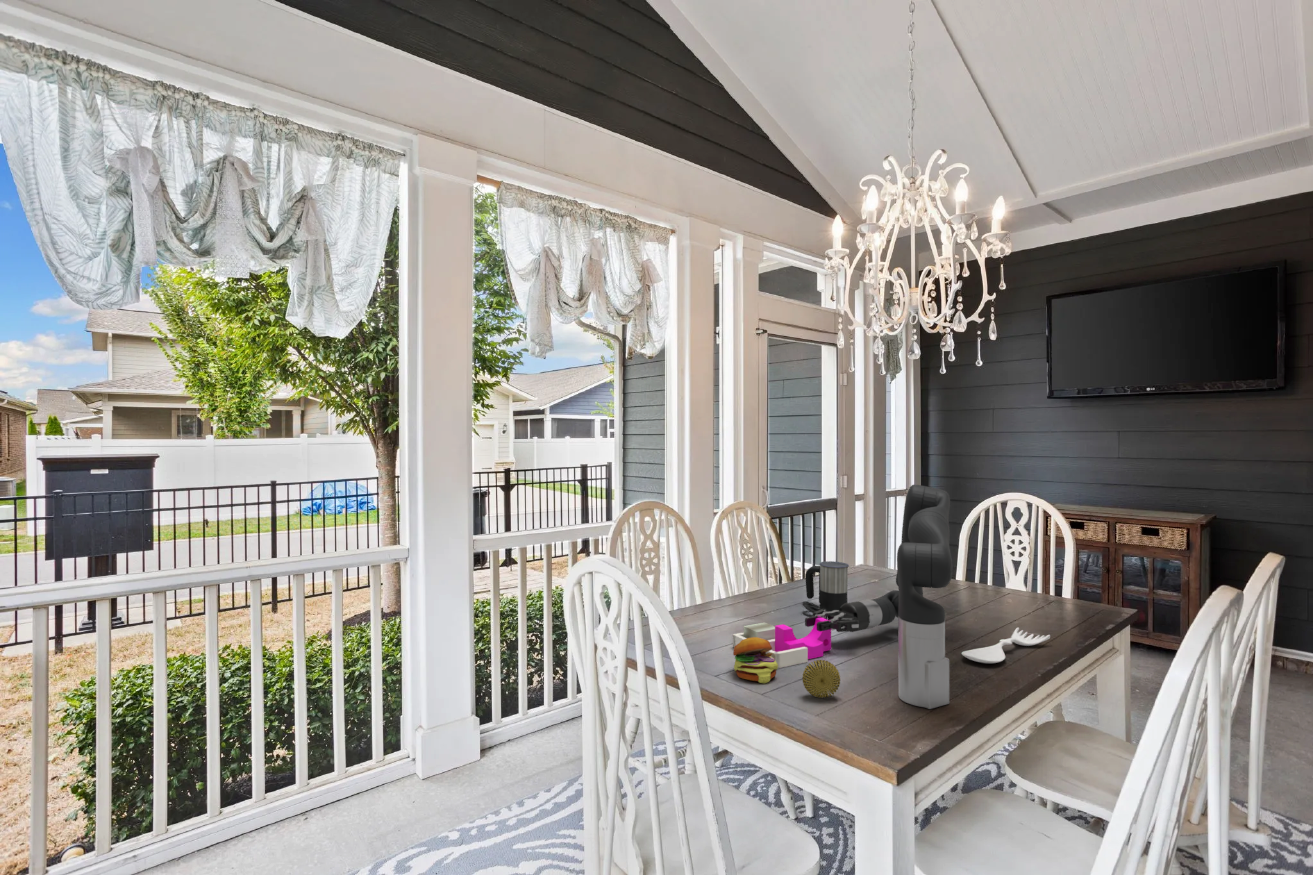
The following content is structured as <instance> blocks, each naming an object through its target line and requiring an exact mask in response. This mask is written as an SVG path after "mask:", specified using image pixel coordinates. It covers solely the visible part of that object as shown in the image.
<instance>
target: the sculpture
mask: <svg viewBox="0 0 1313 875" xmlns="http://www.w3.org/2000/svg"><path fill="white" fill-rule="evenodd" d="M802 672H803V673H802V684H803V687H804V689H805V690H806V691H807V693H809V694H810V695H811V696H813V697H815V698H818V699H823V698H824V699H825V698H829V697H831V696H832V695H834V694H835V693H836V692H837V690H839V687H840V685H841V676H840V672H839V670H838V669H837V667H836V666H835V665H834V663H832V662H830V661H828V660H826V659H825V660H824V659H823V660H822V659H816V660H814V661H811V662H810V663H808V665H806V667H805V668H804V670H803V671H802Z"/></svg>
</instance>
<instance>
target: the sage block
mask: <svg viewBox="0 0 1313 875" xmlns="http://www.w3.org/2000/svg"><path fill="white" fill-rule="evenodd" d="M775 626H776V625H772V624H770V623H767V622H759V623H755V624H749V625H743V633H744V637H745V638H752V637H758V638H762V639H765V640H772V639H775Z"/></svg>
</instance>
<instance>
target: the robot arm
mask: <svg viewBox="0 0 1313 875" xmlns="http://www.w3.org/2000/svg"><path fill="white" fill-rule="evenodd" d="M903 508H904V509H903V517H902V528H901V529H902V530H901V543H900V545H899V546H898V548H897V553H896V565H897V566H896V569H897V571H896V576H895V583H896V585H897V587H898V590H895V589H894V590H890V591H889V592H887V593H885V594H883V595H882V596H880V597H878V598H875V599H874V598H873V599H863V600H857V601H851V602H848V603H845V604H843V605H842V606H841V607H840V609H839V610H833V611H832V612H826V609H821V610H818V611H816V612H814V613H812V616H809V617H805V618H804V626H805V627H808V628H809V627H814V624H815V620H816V618H824V619H827V621H822V622H818V623H817V631H825V630H831V632H832V631H835V630H836V632H837V633H842V632H843V633H844V632H850V633H854V632H859V631H865V630H869V629H873V628H874V627H877V626H883V625H887V624H890V623H892V622H893V621H895V618H897V621H898V626H897V627H898V629H897V630H898V633H897V635H898V640H897V641H898V642H897V643H898V644H897V646H898V648H897V649H898V650H897V651H898V653H897V654H898V656H897V657H898V658H897V660H898V663H897V664H898V668H897V670H898V671H897V672H898V698H899V699H900V700H901V701H903V702H904V703H907V704H909V705H911V706H916V707H921V708H926V709H928V710H932V709H935V708H938V707H942V706H945V705H949V704H950V659H949V658H948V657H946V611H945V608H944V606H942V605H941V604H940V603H937V602H935V601H933V600H931V599H928V598H926V597H924V591H923V588H927V589H928V588H929V589H941V588H942V589H943V588H946V587H947V586H949V585H950V582H951V581H952V577H953V568H954V567H953V566H954V565H953V559H952V553H951V548H950V538H951V537H950V536H951V535H950V534H951V532H950V530H951V529H950V523H949V515H950V510H951V509H950V508H951V496H950V494H949V493H948V491H946V490H944V489H941V488H935V487H931V486H926V485H919V484H912V485H910V487H909V488H908V491H907V492H906V497H905V501H904V507H903ZM828 620H829V621H828Z"/></svg>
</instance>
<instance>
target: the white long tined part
mask: <svg viewBox="0 0 1313 875" xmlns="http://www.w3.org/2000/svg"><path fill="white" fill-rule="evenodd" d="M1019 630H1020V627H1016V628H1015V630H1013V632H1012V634H1011V636H1010V637H1008V638H1006V639H1004V638H1003V639H1000V640H999V642H998V643H996V644H993V645H990V646H985V647H979V648H973V649H969V650H964V651H962V652H961V655H962V656H964V658H967V659H968V660H970V661H974V662H977V663H981V664H996V663H1001V662H1003V661H1004V660H1005V659H1006V655H1005V652H1004V650H1003V646H1006V645H1007V646H1009V645H1013V643H1014V644H1017V645H1020V646H1024V647H1025V646H1026V647H1027V646H1028V647H1029V646H1035V645H1038V644H1041V643H1043V642H1046V641H1048V640H1049V639H1050V638H1051V635H1050V634H1048V635H1045V634H1044V635H1040V634H1038V635H1036V636H1035V637H1034V633H1031V634H1030V635H1028V631H1025V632H1024V630H1023V629H1022V630H1020V631H1019ZM1027 635H1028V636H1027Z"/></svg>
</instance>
